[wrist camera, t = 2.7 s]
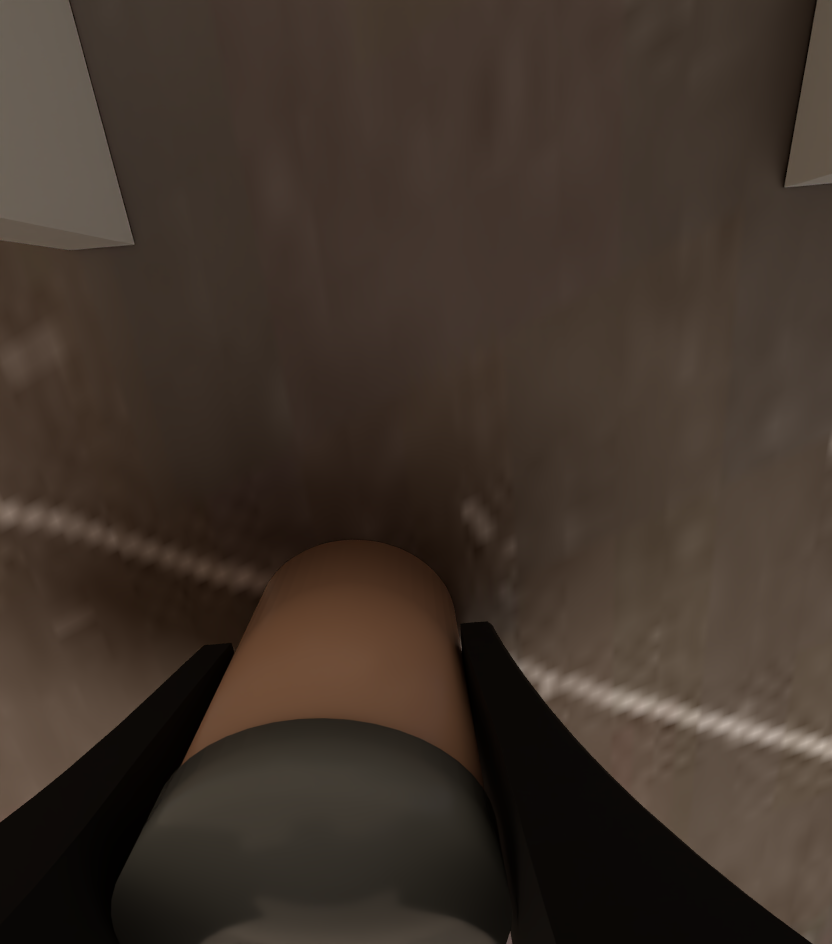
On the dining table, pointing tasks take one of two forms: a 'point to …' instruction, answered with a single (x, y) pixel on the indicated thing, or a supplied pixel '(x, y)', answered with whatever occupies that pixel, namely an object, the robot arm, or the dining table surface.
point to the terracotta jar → (328, 777)
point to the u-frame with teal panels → (88, 157)
